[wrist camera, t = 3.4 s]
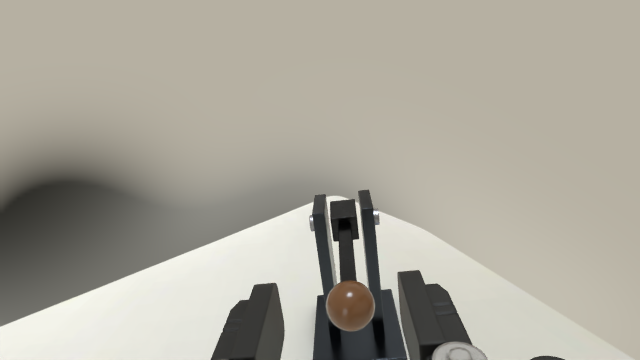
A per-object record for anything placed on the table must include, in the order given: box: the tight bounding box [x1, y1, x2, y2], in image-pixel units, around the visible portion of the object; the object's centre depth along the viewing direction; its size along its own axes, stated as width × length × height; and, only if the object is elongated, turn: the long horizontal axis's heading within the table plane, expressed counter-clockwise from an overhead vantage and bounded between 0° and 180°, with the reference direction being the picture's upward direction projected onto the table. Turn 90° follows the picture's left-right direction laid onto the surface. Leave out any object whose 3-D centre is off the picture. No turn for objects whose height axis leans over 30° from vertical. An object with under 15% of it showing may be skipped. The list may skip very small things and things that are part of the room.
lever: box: [326, 199, 375, 332], centre depth 30 cm, size 13×3×3 cm, turn 178°
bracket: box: [310, 190, 407, 360], centre depth 36 cm, size 10×8×14 cm
